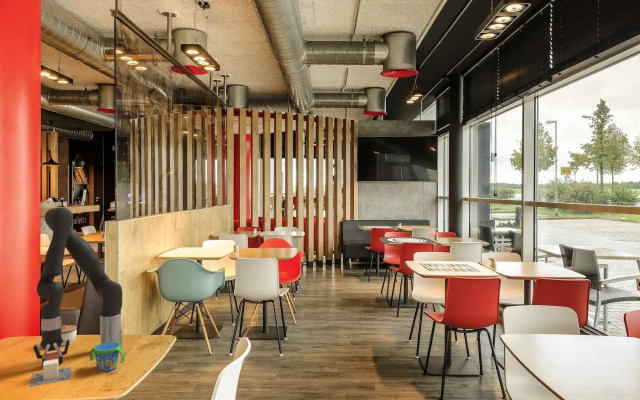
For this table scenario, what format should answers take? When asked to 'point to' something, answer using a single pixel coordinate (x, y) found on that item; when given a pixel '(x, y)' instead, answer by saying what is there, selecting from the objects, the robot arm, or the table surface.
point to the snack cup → (107, 355)
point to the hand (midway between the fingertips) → (52, 365)
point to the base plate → (39, 379)
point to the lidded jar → (68, 333)
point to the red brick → (52, 356)
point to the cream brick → (50, 369)
